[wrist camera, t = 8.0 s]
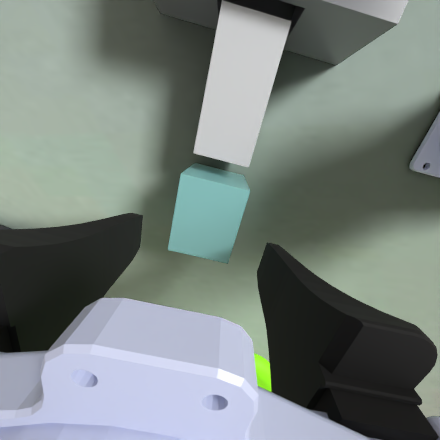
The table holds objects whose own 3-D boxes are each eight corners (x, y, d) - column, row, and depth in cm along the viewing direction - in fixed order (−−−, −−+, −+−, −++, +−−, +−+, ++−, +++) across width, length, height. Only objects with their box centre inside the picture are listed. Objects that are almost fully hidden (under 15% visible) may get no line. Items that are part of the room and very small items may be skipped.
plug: (278, 55, 14) (306, 8, 9) (227, 230, 18) (227, 263, 14) (219, 38, 13) (214, -20, 8) (183, 219, 18) (167, 249, 13)
